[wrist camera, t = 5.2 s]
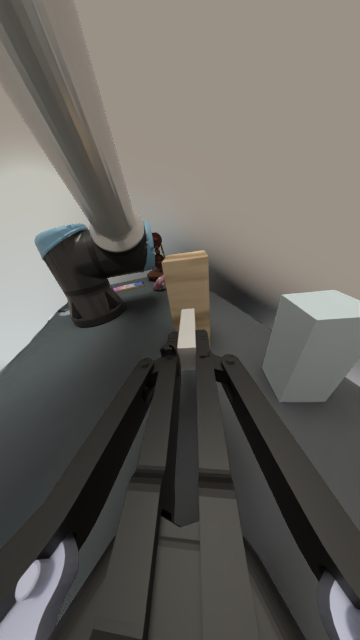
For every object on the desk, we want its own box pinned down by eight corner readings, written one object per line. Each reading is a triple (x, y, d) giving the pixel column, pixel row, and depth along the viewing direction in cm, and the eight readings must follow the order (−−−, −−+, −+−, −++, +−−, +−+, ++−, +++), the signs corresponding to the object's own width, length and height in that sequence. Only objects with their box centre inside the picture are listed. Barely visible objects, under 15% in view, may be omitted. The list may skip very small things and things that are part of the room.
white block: (325, 402, 17) (393, 314, 10) (279, 402, 17) (316, 320, 11) (297, 367, 21) (334, 289, 14) (261, 368, 21) (281, 294, 15)
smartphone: (112, 289, 68) (112, 287, 68) (143, 282, 71) (143, 280, 71) (111, 294, 62) (110, 292, 62) (145, 286, 65) (144, 284, 65)
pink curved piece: (159, 295, 57) (160, 281, 51) (151, 289, 58) (152, 274, 53) (176, 287, 62) (179, 273, 57) (169, 281, 64) (171, 267, 58)
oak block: (210, 349, 26) (208, 256, 18) (178, 350, 27) (161, 262, 18) (207, 329, 31) (204, 250, 23) (180, 331, 32) (167, 255, 23)
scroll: (178, 278, 68) (171, 229, 58) (148, 283, 67) (135, 235, 56) (173, 271, 81) (167, 230, 70) (148, 276, 79) (137, 235, 69)
